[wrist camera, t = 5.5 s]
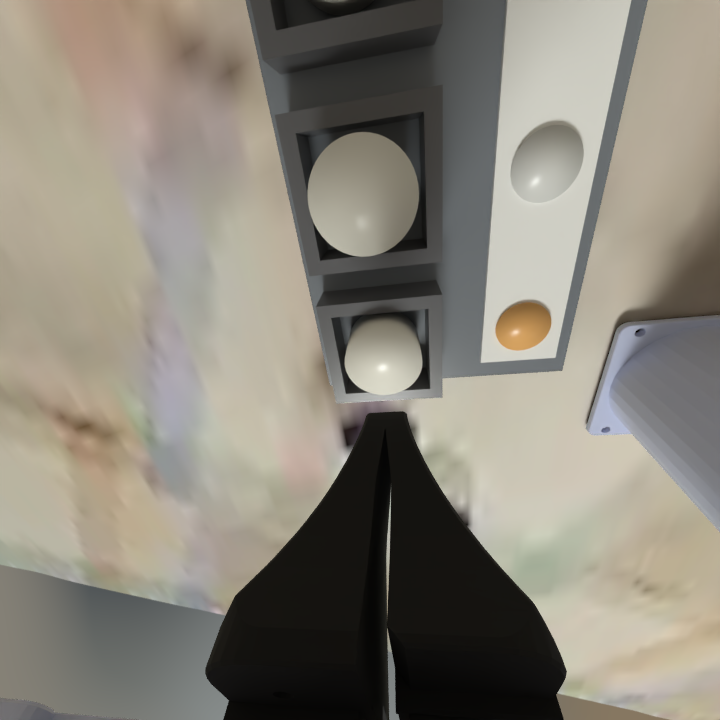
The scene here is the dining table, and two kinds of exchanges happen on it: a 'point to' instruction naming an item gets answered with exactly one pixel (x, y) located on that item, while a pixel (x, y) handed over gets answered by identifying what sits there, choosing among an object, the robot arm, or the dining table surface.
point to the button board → (456, 166)
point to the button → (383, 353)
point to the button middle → (363, 194)
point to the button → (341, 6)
